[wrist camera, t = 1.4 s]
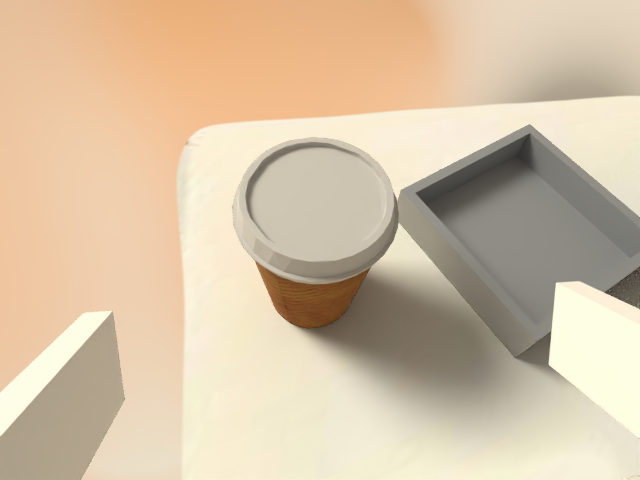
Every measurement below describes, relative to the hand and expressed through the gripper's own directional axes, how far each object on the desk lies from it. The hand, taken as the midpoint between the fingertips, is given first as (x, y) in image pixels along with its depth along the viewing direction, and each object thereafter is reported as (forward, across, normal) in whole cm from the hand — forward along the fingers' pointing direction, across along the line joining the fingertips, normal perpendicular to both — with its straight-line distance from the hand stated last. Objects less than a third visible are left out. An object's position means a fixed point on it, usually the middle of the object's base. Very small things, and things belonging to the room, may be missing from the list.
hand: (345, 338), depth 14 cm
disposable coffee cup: (+21, +1, -6) cm, 22 cm away
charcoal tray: (+23, +18, -3) cm, 30 cm away
